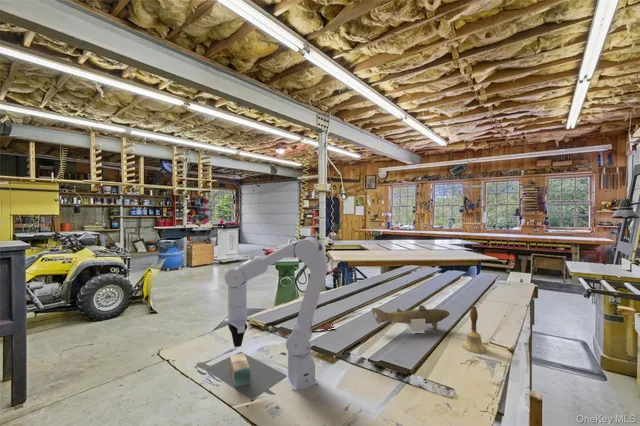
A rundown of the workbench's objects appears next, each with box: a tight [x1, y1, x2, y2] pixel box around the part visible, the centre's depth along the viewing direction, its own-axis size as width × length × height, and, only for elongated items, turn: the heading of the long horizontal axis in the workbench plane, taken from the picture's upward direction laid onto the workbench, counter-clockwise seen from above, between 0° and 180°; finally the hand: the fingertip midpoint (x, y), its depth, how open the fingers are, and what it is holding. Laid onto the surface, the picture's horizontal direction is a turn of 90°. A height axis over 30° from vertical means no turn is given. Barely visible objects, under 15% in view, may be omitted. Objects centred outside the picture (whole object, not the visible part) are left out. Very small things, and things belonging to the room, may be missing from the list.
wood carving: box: [371, 304, 450, 331], centre depth 123 cm, size 9×35×11 cm, turn 98°
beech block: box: [229, 352, 250, 387], centre depth 90 cm, size 4×4×10 cm
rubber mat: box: [204, 351, 287, 403], centre depth 92 cm, size 24×14×1 cm, turn 52°
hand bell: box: [461, 305, 487, 354], centre depth 109 cm, size 8×8×16 cm
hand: (237, 346), depth 93 cm, fingers closed
